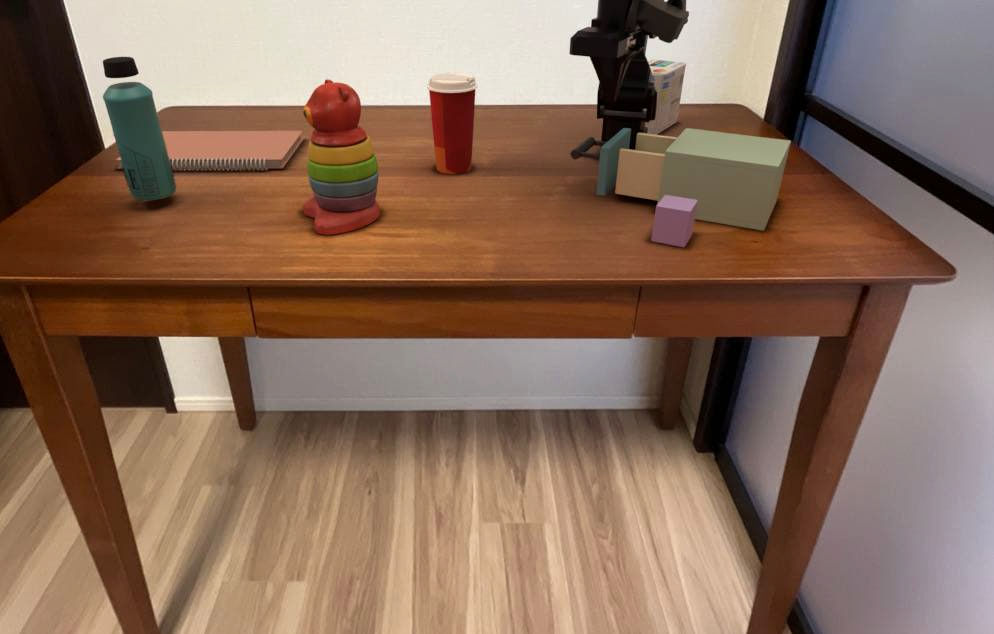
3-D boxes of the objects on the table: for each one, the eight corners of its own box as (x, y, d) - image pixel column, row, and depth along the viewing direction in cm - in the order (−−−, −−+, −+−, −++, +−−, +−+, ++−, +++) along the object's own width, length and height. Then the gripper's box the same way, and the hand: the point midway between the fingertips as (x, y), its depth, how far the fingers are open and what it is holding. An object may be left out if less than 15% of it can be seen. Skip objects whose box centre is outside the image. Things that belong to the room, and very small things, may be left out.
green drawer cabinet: (656, 212, 98) (665, 150, 94) (677, 185, 107) (686, 127, 102) (763, 231, 93) (778, 166, 88) (776, 201, 101) (791, 140, 97)
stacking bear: (300, 209, 101) (281, 78, 92) (368, 197, 105) (357, 70, 95) (318, 237, 93) (300, 97, 83) (392, 224, 96) (382, 87, 87)
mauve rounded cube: (651, 241, 91) (656, 205, 88) (659, 229, 94) (665, 194, 91) (684, 247, 89) (690, 211, 86) (692, 235, 92) (698, 199, 89)
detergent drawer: (564, 189, 104) (567, 142, 100) (588, 167, 112) (591, 123, 108) (688, 209, 97) (696, 160, 93) (704, 185, 104) (713, 138, 101)
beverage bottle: (189, 197, 106) (155, 53, 95) (159, 213, 101) (120, 64, 90) (153, 192, 108) (116, 51, 97) (122, 208, 103) (79, 61, 92)
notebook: (115, 172, 116) (111, 160, 115) (155, 140, 130) (153, 129, 129) (281, 172, 115) (279, 159, 114) (304, 140, 129) (302, 129, 128)
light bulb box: (644, 117, 138) (652, 58, 132) (678, 122, 134) (687, 62, 128) (620, 131, 131) (627, 69, 125) (655, 137, 127) (664, 73, 121)
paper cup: (485, 164, 116) (485, 74, 109) (465, 179, 111) (464, 85, 103) (442, 158, 119) (439, 70, 112) (420, 172, 113) (416, 80, 106)
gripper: (666, -16, 79) (648, 126, 88) (706, -31, 93) (687, 93, 101) (572, -20, 84) (563, 115, 92) (623, -34, 98) (611, 85, 106)
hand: (610, 101), depth 98 cm, fingers closed
